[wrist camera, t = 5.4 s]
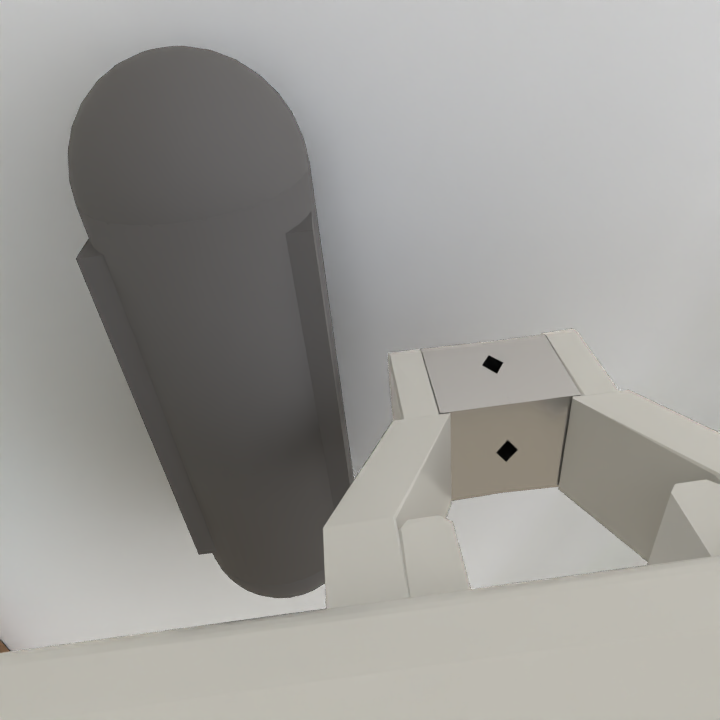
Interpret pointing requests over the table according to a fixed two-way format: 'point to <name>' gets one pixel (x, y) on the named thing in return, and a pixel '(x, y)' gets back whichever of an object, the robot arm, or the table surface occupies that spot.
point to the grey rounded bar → (217, 303)
